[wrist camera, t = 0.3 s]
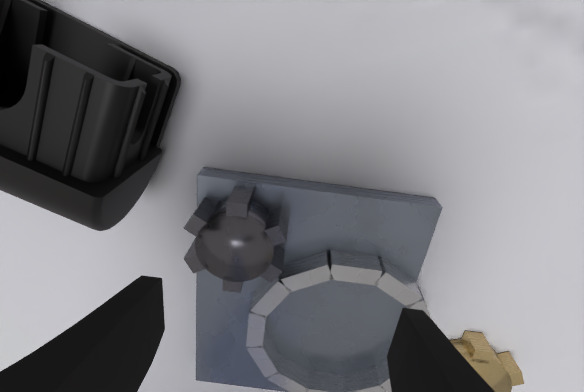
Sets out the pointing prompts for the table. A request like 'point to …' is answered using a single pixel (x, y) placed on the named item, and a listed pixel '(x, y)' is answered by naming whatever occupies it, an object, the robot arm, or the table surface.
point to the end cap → (77, 114)
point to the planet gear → (489, 362)
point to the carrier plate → (303, 280)
